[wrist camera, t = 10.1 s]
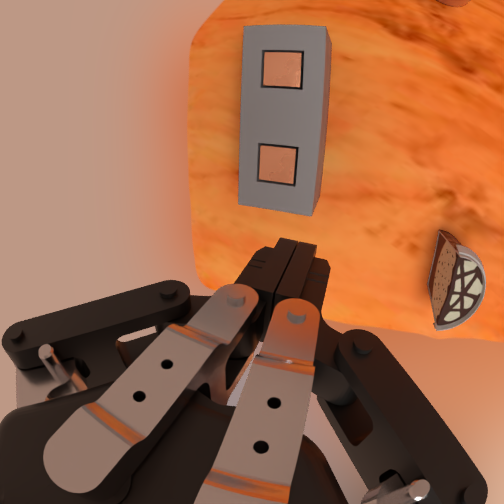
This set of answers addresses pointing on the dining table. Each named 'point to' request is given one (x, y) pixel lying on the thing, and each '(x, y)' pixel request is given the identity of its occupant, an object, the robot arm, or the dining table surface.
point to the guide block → (284, 116)
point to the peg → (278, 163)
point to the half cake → (454, 282)
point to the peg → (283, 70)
